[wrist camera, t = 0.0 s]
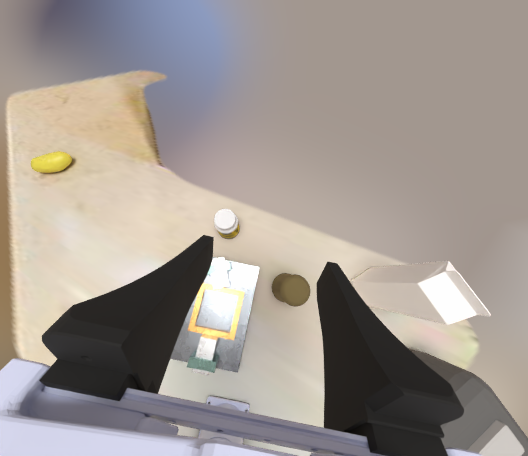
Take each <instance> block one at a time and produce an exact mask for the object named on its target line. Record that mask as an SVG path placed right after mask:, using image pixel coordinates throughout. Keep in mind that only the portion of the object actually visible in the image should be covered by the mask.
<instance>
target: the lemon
mask: <svg viewBox="0 0 528 456" xmlns="http://www.w3.org/2000/svg"><path fill="white" fill-rule="evenodd" d="M71 161H72V158H71V156H70V155H69V154H67V153H64V152H59V151H58V152H53V153H49V154H45V155H42V156H39V157H36V158H33V159H32V161H31V167H32V169H33V170H35V171H37V172H41V173H51V172H57V171H61V170H64V169H65V168H66V167H67V166H68V165H69V164H70V163H71Z"/></svg>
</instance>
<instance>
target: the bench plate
mask: <svg viewBox="0 0 528 456" xmlns="http://www.w3.org/2000/svg"><path fill="white" fill-rule="evenodd" d="M258 272H259V267H256V266H251V265H247V264H242V263H237V262H233V261H228V260H226V258H224V257H222V258H214V257H213V259H212V263H211V266H210V269H209V272H208V274H207V276H206V278H205V280H204V282H203V284H202V286H201V288H200V290H199V292H198V294H197V296H196V298H195V300H194V301H193V303H192V305H191V307H190V309H189V312H188V314H187V316H186V319H185V321H184V324H183V326H182V329H181V331H180V334H179V336H178V339H177V342H176V344H175V347H174V349H173V352H172V355H171V358H170V359H175V360H180V361H185V362H188V365H187V367H189V368H192V372H196V373H201V374H206V375H209V373H210V372H213V373H214V372H215V369H216V368H219V369H224V370H228V371H233V372H238V368H239V364H240V359H241V354H242V349H243V344H244V340H245V335H246V330H247V325H248V320H249V316H250V311H251V306H252V301H253V296H254V292H255V287H256V282H257V277H258Z"/></svg>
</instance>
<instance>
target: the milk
mask: <svg viewBox="0 0 528 456" xmlns="http://www.w3.org/2000/svg"><path fill="white" fill-rule="evenodd" d="M350 282H351V283H352V285H353V287H354V288H355V290H356V291H357V293H358V294H359V296H360V297H361V298H362V300H363V301H364V302H365V303H366V305H367V306H371V307H375V308H379V309H383V310H387V311H392V312H396V313H400V314H404V315H408V316H413V317H417V318H421V319H425V320H429V321H434V322H438V323H442V324H446V325H449V324H452V323H455V322H458V321H461V320H464V319H467V318H470V317H472V316H475V315H483V316H491V314H490V313H489V311H488V310H487V309H486V307H485V306H484V305H483V304H482V302H481V301H480V300H479V298H478V297H477V296H476V294H475V293H474V292H473V290H472V289H471V288H470V287H469V285H468V284H467V283H466V281H465V280H464V279H463V278H462V276H461V275H460V274H459V273H458V272H457V271H456V270H455V268H454V267H453V266H452V264H451V263H450V262H449V261H441V262H429V263H418V264H406V265H395V266H383V267H371V268H369V269H367V270H366V271H364V272H363V273H361V274H360V275H359V276H357V277H356V278H354V279H353V280H351V281H350Z"/></svg>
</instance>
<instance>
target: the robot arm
mask: <svg viewBox="0 0 528 456" xmlns="http://www.w3.org/2000/svg"><path fill="white" fill-rule="evenodd" d="M213 238H214V237H210V236H206V235H203V236H202V237H200V238H199V239H198V240H197V241H196V242H194V243H193V244H192V245H191V246H189V247H188V248H187V249H186V250H184V251H183V252H182V253H180V254H179V255H178V256H176V257H175V258H173V259H172V260H170V261H169V262H167V263H166V264H164V265H163V266H161V267H160V268H158V269H156V270H155V271H153V272H151V273H149V274H148V275H146V276H144V277H142V278H140V279H138V280H136V281H134V282H132V283H130V284H128V285H125V286H123V287H121V288H118V289H116V290H114V291H111V292H109V293H106V294H104V295H101V296H98V297H96V298H93V299H90V300H87V301H84V302H81V303H78V304H75V305H73V306H72V307H71V308H70V309H68V310H67V311H66V312H65V313H64V314H63V315H62V316H61V317H60V318H59V319H58V320H57V321H56V322H55V323H54V324H53V325H52V326H51V327H50V328H49V329H48V330H47V331H46V332H45V333H44V334H43V335H42V342H43V343H44V345H45V346H46V347H47V348H48V349H49V350H50V351H51V352H52V353H53V354H54V356H55V357H56V358H57V360H56V362H55V363H54V364H53V365H52V366H51V367H50V366H48V365H46V364H43V363H39V362H34V361H29V360H24V359H19V358H15V359H12V360H11V361H10V362H9V363H8V364H7V365H6V366H5V367H4V368H3V369H2V370H1V371H0V456H297V455H293V454H288V453H283V452H278V451H273V450H268V449H263V448H258V447H253V446H248V445H243V439H244V438H245V439H250V440H255V441H260V442H265V443H270V444H275V445H280V446H285V447H289V448H294V449H299V450H304V451H309V452H314V453H311V455H310V456H482V455H481V454H480V453H478V452H473V451H468V450H463V449H458V448H452V447H444V445H443V443H442V440H441V438H444V433H443V431H442V428H441V426H440V425H442V424H445V423H448V422H451V421H453V420H456V419H458V418H460V417H461V416H462V415H463V414H464V408H463V406H462V405H461V403H460V401H459V399H458V397H457V395H456V393H455V392H454V390H453V388H452V386H451V384H450V383H449V382H447V381H446V380H445V379H444V378H443V377H441V376H440V375H439V374H438V373H436V372H435V371H434V370H433V369H431V368H430V367H429V366H428V365H426V364H425V363H424V362H423V361H422V360H420V359H419V358H418V357H417V356H416V355H415V354H414V353H412V352H411V351H410V350H409V349H408V348H407V347H406V346H405V345H404V344H403V343H402V342H400V341H399V340H398V339H397V338H396V337H395V336H394V335H393V334H392V333H391V332H390V331H389V330H388V329H387V328H386V326H385V325H384V324H383V323H382V322H381V321H380V320H379V319H378V318H377V317H376V315H375V314H374V313H373V312H372V311H371V310H370V308H369V307H368V306H367V305H366V303H365V302H364V301H363V300H362V298H361V297H360V296H359V294H358V293H357V291H356V290H355V289H354V287H353V286H352V284H351V283H350V281H349V280H348V279H347V277H346V276H345V274H344V273H343V271H342V270H341V268H340V267H339V265H338V264H337V263H332V262H327V264H326V266H325V268H324V270H323V272H322V274H321V276H320V278H319V280H318V282H317V302H318V309H319V316H320V322H321V329H322V336H323V350H324V382H325V402H324V428H321V427H316V426H312V425H307V424H302V423H297V422H292V421H287V420H282V419H277V418H272V417H268V416H263V415H258V414H253V413H249V404H248V403H243V402H239V401H234V400H229V399H224V398H219V397H214V396H209V397H208V398H207V402H206V404H204V403H199V402H194V401H189V400H184V399H179V398H175V397H170V396H165V395H160V394H158V392H159V389H160V386H161V383H162V380H163V377H164V374H165V371H166V369H167V366H168V363H169V360H170V358H171V355H172V352H173V349H174V347H175V344H176V342H177V339H178V336H179V334H180V331H181V329H182V326H183V324H184V321H185V319H186V316H187V314H188V312H189V309H190V307H191V305H192V303H193V301H194V300H195V298H196V296H197V294H198V292H199V290H200V288H201V286H202V284H203V282H204V280H205V278H206V276H207V274H208V272H209V269H210V266H211V263H212V259H213ZM209 401H210V403H208V402H209ZM245 409H247V411H245ZM169 423H171V424H176V425H181V426H186V427H191V428H196V429H200V432H199V436H198V438H196V437H188V436H180V435H178V434H177V433H178V427H177V426H174V425H171V424H169Z"/></svg>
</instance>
